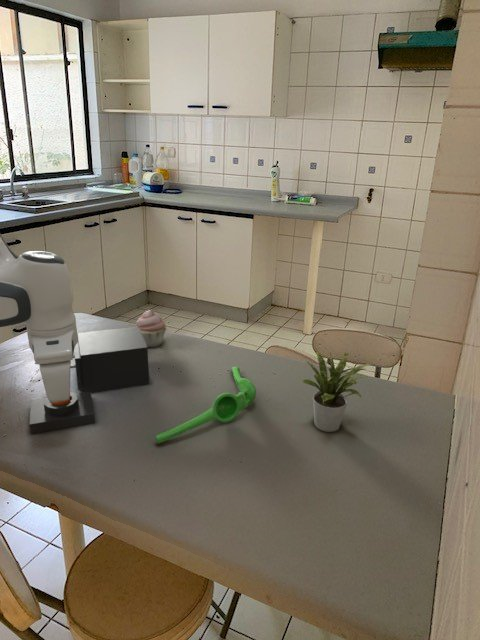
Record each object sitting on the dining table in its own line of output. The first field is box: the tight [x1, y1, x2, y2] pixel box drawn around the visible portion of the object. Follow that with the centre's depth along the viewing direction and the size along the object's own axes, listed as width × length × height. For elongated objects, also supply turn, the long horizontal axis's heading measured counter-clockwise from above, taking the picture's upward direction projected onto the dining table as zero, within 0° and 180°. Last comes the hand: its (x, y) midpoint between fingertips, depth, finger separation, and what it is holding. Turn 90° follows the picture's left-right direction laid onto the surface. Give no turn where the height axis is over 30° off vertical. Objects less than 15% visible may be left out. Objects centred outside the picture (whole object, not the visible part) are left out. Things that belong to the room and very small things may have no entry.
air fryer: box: [77, 326, 150, 394], centre depth 110 cm, size 15×13×10 cm
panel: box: [28, 391, 96, 435], centre depth 95 cm, size 12×9×4 cm
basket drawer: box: [70, 343, 84, 391], centre depth 109 cm, size 18×11×8 cm, turn 111°
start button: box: [52, 398, 71, 405], centre depth 95 cm, size 4×4×2 cm
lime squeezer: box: [154, 366, 257, 444], centre depth 99 cm, size 34×12×6 cm, turn 154°
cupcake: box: [133, 309, 168, 348], centre depth 128 cm, size 9×9×10 cm
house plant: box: [300, 349, 372, 433], centre depth 92 cm, size 14×14×16 cm
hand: (61, 397), depth 94 cm, fingers closed, pressing on start button
